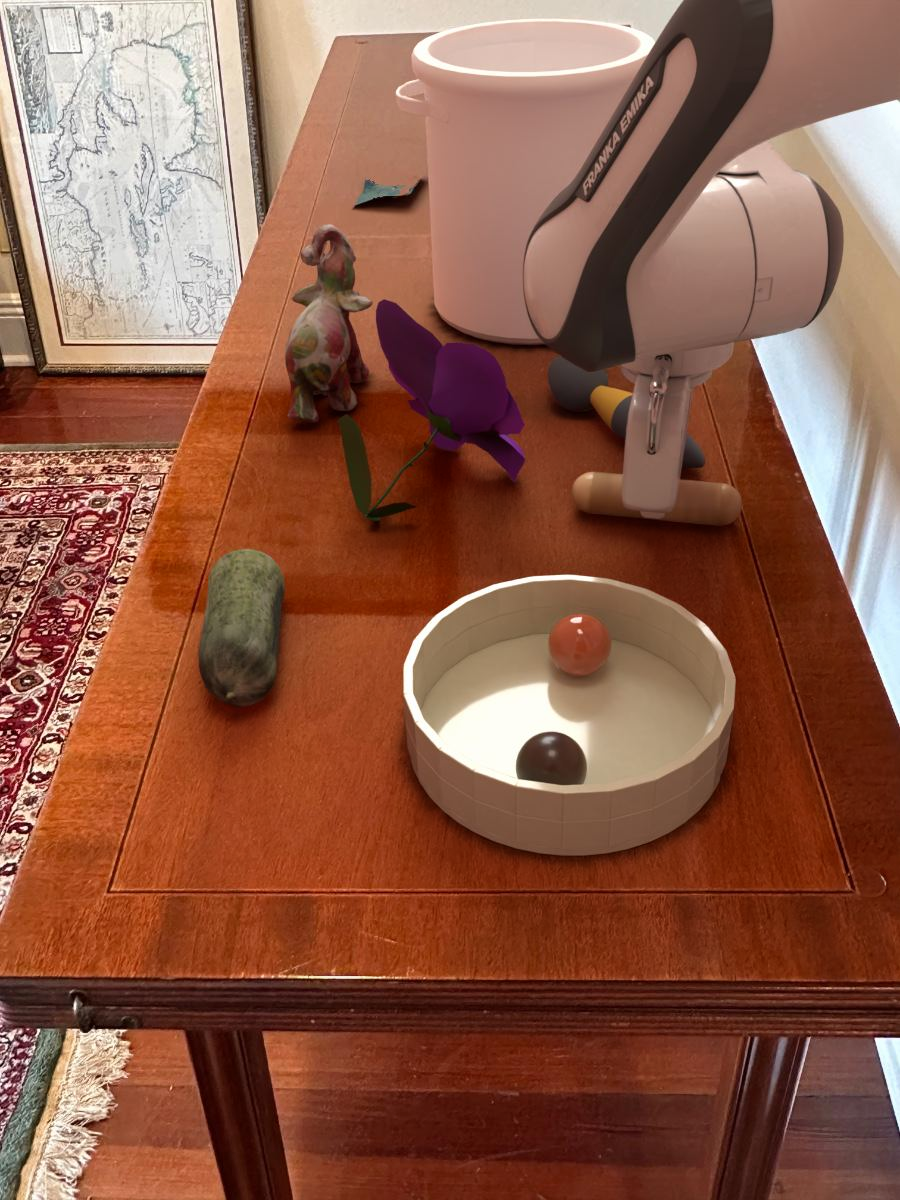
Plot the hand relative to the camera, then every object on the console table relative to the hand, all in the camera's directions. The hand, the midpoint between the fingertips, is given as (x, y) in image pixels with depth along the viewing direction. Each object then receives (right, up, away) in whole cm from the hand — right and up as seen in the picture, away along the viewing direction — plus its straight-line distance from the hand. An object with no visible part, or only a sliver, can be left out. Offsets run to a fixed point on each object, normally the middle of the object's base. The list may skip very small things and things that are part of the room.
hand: (656, 497), depth 90 cm
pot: (-7, +22, +33) cm, 40 cm away
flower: (-17, 0, +5) cm, 18 cm away
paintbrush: (-1, +7, +12) cm, 14 cm away
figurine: (-27, +10, +18) cm, 34 cm away
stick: (0, -1, +1) cm, 2 cm away
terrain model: (-23, +44, +63) cm, 80 cm away
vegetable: (-29, -12, -10) cm, 33 cm away
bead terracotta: (-7, -11, -15) cm, 20 cm away
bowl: (-9, -16, -18) cm, 25 cm away
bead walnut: (-10, -17, -23) cm, 31 cm away
